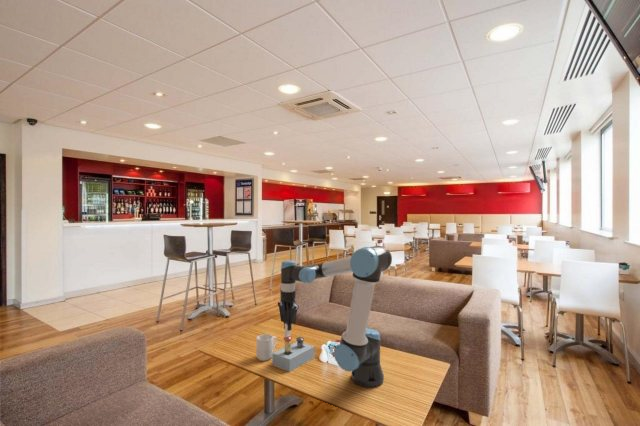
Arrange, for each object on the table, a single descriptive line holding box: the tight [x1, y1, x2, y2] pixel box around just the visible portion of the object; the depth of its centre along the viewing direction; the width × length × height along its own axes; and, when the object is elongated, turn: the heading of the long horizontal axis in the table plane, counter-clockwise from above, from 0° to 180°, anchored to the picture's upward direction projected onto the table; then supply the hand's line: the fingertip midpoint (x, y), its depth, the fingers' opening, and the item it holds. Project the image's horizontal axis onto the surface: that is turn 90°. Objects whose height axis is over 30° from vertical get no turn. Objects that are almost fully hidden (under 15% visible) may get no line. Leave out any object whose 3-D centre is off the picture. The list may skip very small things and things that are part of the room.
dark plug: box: [295, 336, 305, 349], centre depth 173 cm, size 4×4×9 cm
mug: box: [256, 333, 278, 362], centre depth 174 cm, size 12×9×11 cm
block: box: [271, 341, 315, 372], centre depth 169 cm, size 12×20×6 cm, turn 144°
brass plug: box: [283, 335, 292, 355], centre depth 165 cm, size 4×4×9 cm
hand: (287, 336), depth 165 cm, fingers closed
